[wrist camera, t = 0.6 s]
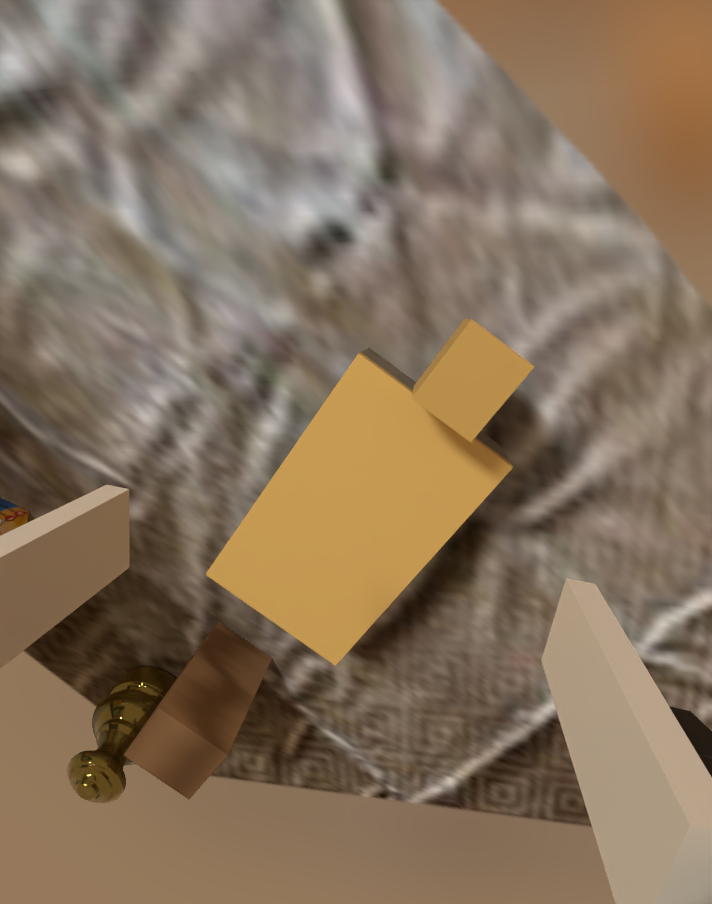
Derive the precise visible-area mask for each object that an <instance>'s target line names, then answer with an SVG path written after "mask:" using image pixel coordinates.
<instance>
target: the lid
mask: <svg viewBox="0 0 712 904" xmlns="http://www.w3.org/2000/svg"><path fill="white" fill-rule="evenodd" d="M533 368H534V366H533V365H532V364H530V363H529V362H528V361H526V360H525V359H524V358H522V357H521V356H520V355H518V354H517V353H516V352H514V351H513V350H512V349H510V348H509V347H508V346H507V345H505V344H504V343H503V342H501V341H500V340H499V339H497V338H496V337H495V336H493V335H492V334H491V333H489V332H488V331H487V330H485V329H484V328H483V327H481V326H480V325H479V324H477V323H476V322H475V321H473V320H472V319H464V320H463V322H462V323H461V324H460V326H459V327H458V328H457V330H456V331H455V332H454V334H453V335H452V336H451V338H450V339H449V340H448V341H447V343H446V344H445V345H444V347H443V348H442V349H441V351H440V352H439V353H438V355H437V356H436V357H435V359H434V360H433V361H432V363H431V364H430V365H429V367H428V368H427V369H426V371H425V372H424V373H423V375H422V376H421V377H420V379H419V380H418V381H417V382H416V384H415V385H414V388H413V391H412V390H411V389H410V388H408V387H407V386H406V385H404V384H403V383H402V382H400V381H399V380H398V379H396V378H395V377H394V376H392V375H391V374H389V373H388V372H387V371H385V370H384V369H383V368H381V367H380V366H379V365H377V364H376V363H375V362H373V361H372V360H371V359H369V358H368V357H366V356H365V355H364V354H362V353H361V352H360V353H358V355H357V356H356V358H355V359H354V361H353V362H352V363H351V365H350V366H349V368H348V369H347V371H346V372H345V374H344V375H343V376H342V378H341V379H340V381H339V382H338V384H337V385H336V387H335V388H334V389H333V391H332V392H331V394H330V395H329V397H328V398H327V400H326V401H325V402H324V404H323V405H322V407H321V408H320V410H319V411H318V413H317V414H316V415H315V417H314V418H313V420H312V421H311V423H310V424H309V426H308V427H307V428H306V430H305V431H304V433H303V434H302V436H301V437H300V439H299V440H298V441H297V443H296V444H295V446H294V447H293V449H292V450H291V452H290V453H289V454H288V456H287V457H286V459H285V460H284V462H283V463H282V465H281V466H280V467H279V469H278V470H277V472H276V473H275V475H274V476H273V478H272V479H271V480H270V482H269V483H268V485H267V486H266V488H265V489H264V491H263V492H262V493H261V495H260V496H259V498H258V499H257V501H256V502H255V504H254V505H253V506H252V508H251V509H250V511H249V512H248V514H247V515H246V517H245V518H244V519H243V521H242V522H241V524H240V525H239V527H238V528H237V530H236V531H235V532H234V534H233V535H232V537H231V538H230V540H229V541H228V543H227V544H226V545H225V547H224V548H223V550H222V551H221V553H220V554H219V556H218V557H217V559H216V560H215V561H214V563H213V564H212V566H211V567H210V569H209V570H208V572H207V573H206V574H205V575H207V576H208V577H210V578H211V579H212V580H214V581H215V582H217V583H218V584H220V585H221V586H222V587H224V588H225V589H227V590H228V591H230V592H231V593H232V594H234V595H235V596H237V597H238V598H240V599H241V600H242V601H244V602H245V603H247V604H248V605H250V606H251V607H252V608H254V609H255V610H257V611H258V612H260V613H261V614H262V615H264V616H265V617H267V618H268V619H270V620H271V621H272V622H274V623H275V624H277V625H278V626H280V627H281V628H282V629H284V630H285V631H287V632H288V633H290V634H291V635H292V636H294V637H295V638H297V639H298V640H300V641H301V642H302V643H304V644H305V645H307V646H308V647H309V648H311V649H312V650H314V651H315V652H317V653H318V654H319V655H321V656H322V657H324V658H325V659H327V660H328V661H329V662H331V663H332V664H334V665H335V666H336V664H337V663H338V662H339V661H340V660H341V659H342V658H343V657H344V655H345V654H346V653H347V652H348V651H349V650H350V649H351V648H352V647H353V645H354V644H355V643H356V642H357V641H358V640H359V639H360V638H361V637H362V635H363V634H364V633H365V632H366V631H367V630H368V629H369V628H370V626H371V625H372V624H373V623H374V622H375V621H376V620H377V619H378V618H379V616H380V615H381V614H382V613H383V612H384V611H385V610H386V609H387V608H388V606H389V605H390V604H391V603H392V602H393V601H394V600H395V599H396V597H397V596H398V595H399V594H400V593H401V592H402V591H403V590H404V589H405V587H406V586H407V585H408V584H409V583H410V582H411V581H412V580H413V579H414V577H415V576H416V575H417V574H418V573H419V572H420V571H421V570H422V569H423V567H424V566H425V565H426V564H427V563H428V562H429V561H430V560H431V558H432V557H433V556H434V555H435V554H436V553H437V552H438V551H439V550H440V548H441V547H442V546H443V545H444V544H445V543H446V542H447V541H448V540H449V538H450V537H451V536H452V535H453V534H454V533H455V532H456V531H457V529H458V528H459V527H460V526H461V525H462V524H463V523H464V522H465V521H466V519H467V518H468V517H469V516H470V515H471V514H472V513H473V512H474V511H475V509H476V508H477V507H478V506H479V505H480V504H481V503H482V502H483V500H484V499H485V498H486V497H487V496H488V495H489V494H490V493H491V492H492V490H493V489H494V488H495V487H496V486H497V485H498V484H499V483H500V482H501V480H502V479H503V478H504V477H505V476H506V475H507V474H508V473H509V471H510V470H511V469H512V468H513V467H512V465H511V463H510V462H509V461H507V460H506V459H504V458H503V457H502V456H500V455H499V454H498V453H496V452H495V451H494V450H492V449H491V448H490V447H488V446H487V445H486V444H484V443H483V442H481V441H480V440H479V439H477V438H476V436H477V435H478V433H479V432H480V431H481V430H482V429H483V427H484V426H485V425H486V424H487V423H488V422H489V420H490V419H491V418H492V417H493V416H494V414H495V413H496V412H497V411H498V410H499V408H500V407H501V406H502V405H503V404H504V403H505V401H506V400H507V399H508V398H509V397H510V395H511V394H512V393H513V392H514V391H515V389H516V388H517V387H518V386H519V385H520V383H521V382H522V381H523V380H524V379H525V378H526V376H527V375H528V374H529V373H530V372H531V370H532V369H533Z"/></svg>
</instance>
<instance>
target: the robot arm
mask: <svg viewBox="0 0 712 904" xmlns="http://www.w3.org/2000/svg"><path fill="white" fill-rule="evenodd" d="M129 567H130V566H129V489H126V488H121V487H116V486H111V485H105V486H103V487H101V488H99V489H97V490H95V491H93V492H91V493H88V494H86V495H84V496H82V497H80V498H78V499H76V500H74V501H72V502H70V503H68V504H66V505H63V506H61V507H59V508H57V509H55V510H53V511H51V512H49V513H47V514H45V515H43V516H41V517H39V518H36V519H34V520H32V521H30V522H28V523H26V524H24V525H22V526H20V527H18V528H16V529H14V530H11V531H9V532H7V533H5V534H3V535H1V536H0V668H2V667H3V666H4V665H5V664H7V663H8V662H9V661H10V660H12V659H13V658H14V657H16V656H17V655H18V654H19V653H21V652H22V651H23V650H25V649H26V648H27V647H28V646H30V645H31V644H32V643H34V642H35V641H36V640H37V639H39V638H40V637H41V636H42V635H44V634H45V633H46V632H48V631H49V630H50V629H51V628H53V627H54V626H55V625H57V624H58V623H59V622H60V621H62V620H63V619H64V618H65V617H67V616H68V615H69V614H71V613H72V612H73V611H74V610H76V609H77V608H78V607H80V606H81V605H82V604H83V603H85V602H86V601H87V600H88V599H90V598H91V597H92V596H94V595H95V594H96V593H97V592H99V591H100V590H101V589H102V588H104V587H105V586H106V585H108V584H109V583H110V582H111V581H113V580H114V579H115V578H117V577H118V576H119V575H120V574H122V573H123V572H124V571H125V570H127V569H128V568H129ZM541 661H542V664H543V668H544V671H545V674H546V677H547V681H548V684H549V687H550V691H551V694H552V697H553V700H554V704H555V707H556V710H557V714H558V717H559V720H560V723H561V727H562V730H563V733H564V737H565V740H566V743H567V746H568V750H569V753H570V756H571V760H572V763H573V766H574V769H575V773H576V776H577V779H578V783H579V786H580V789H581V792H582V796H583V799H584V802H585V806H586V809H587V812H588V815H589V819H590V822H591V825H592V829H593V832H594V835H595V838H596V842H597V845H598V848H599V852H600V855H601V858H602V861H603V864H604V868H605V871H606V874H607V878H608V881H609V884H610V888H611V891H612V894H613V898H614V901H615V904H712V731H711V730H710V729H709V728H707V727H706V726H705V725H704V724H703V723H702V722H701V721H700V720H699V719H698V718H697V717H696V716H695V715H694V714H693V713H692V712H691V711H687V710H682V709H678V708H674V707H669V706H668V704H667V702H666V701H665V699H664V697H663V696H662V694H661V692H660V691H659V689H658V687H657V686H656V684H655V682H654V681H653V679H652V677H651V676H650V674H649V672H648V671H647V669H646V667H645V666H644V664H643V663H642V661H641V659H640V658H639V656H638V654H637V653H636V651H635V649H634V648H633V646H632V644H631V643H630V641H629V639H628V638H627V636H626V634H625V633H624V631H623V629H622V628H621V626H620V624H619V623H618V621H617V619H616V618H615V616H614V614H613V613H612V611H611V609H610V608H609V606H608V604H607V603H606V601H605V599H604V598H603V596H602V594H601V593H600V591H599V589H598V588H597V586H596V584H592V583H588V582H583V581H578V580H573V579H568V578H566V581H565V584H564V587H563V590H562V594H561V597H560V600H559V604H558V607H557V610H556V614H555V617H554V620H553V624H552V627H551V630H550V634H549V637H548V640H547V644H546V647H545V650H544V654H543V657H542V660H541Z"/></svg>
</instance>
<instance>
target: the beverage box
mask: <svg viewBox="0 0 712 904" xmlns="http://www.w3.org/2000/svg"><path fill="white" fill-rule="evenodd" d="M28 516H29V511H27V510H25V509H23V508H21V507H19V506H17V505H14V504H12V503H10V502H8V501H6V500H4V499H2V498H0V536H1V535H3V534H5V533H7V532H9V531H11V530H14V529H16V528H18V527H20V526H22V525H24V524H26V523H27V521H28Z"/></svg>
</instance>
